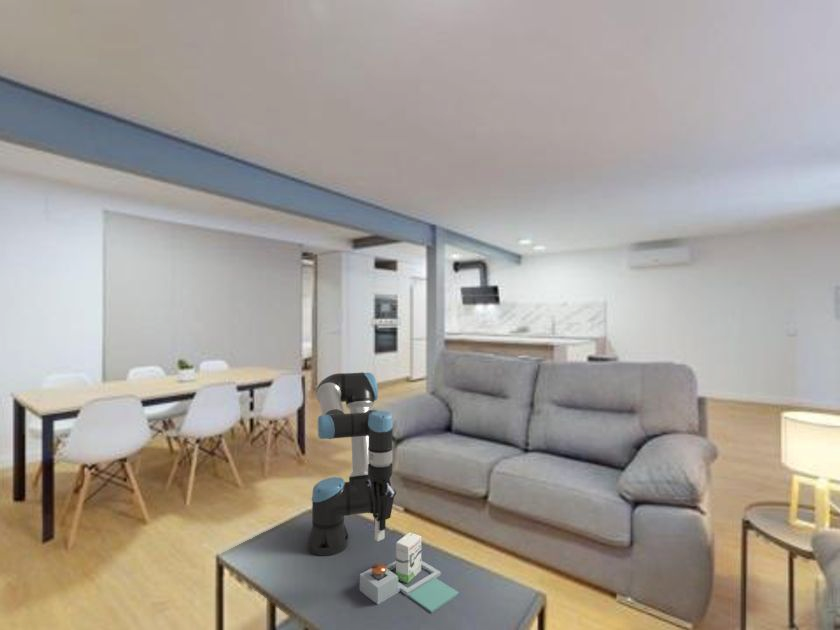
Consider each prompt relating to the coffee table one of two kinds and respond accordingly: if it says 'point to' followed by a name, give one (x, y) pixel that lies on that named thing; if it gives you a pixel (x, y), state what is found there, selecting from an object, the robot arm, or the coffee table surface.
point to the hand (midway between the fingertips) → (379, 538)
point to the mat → (433, 595)
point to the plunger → (378, 571)
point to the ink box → (408, 557)
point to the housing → (391, 583)
